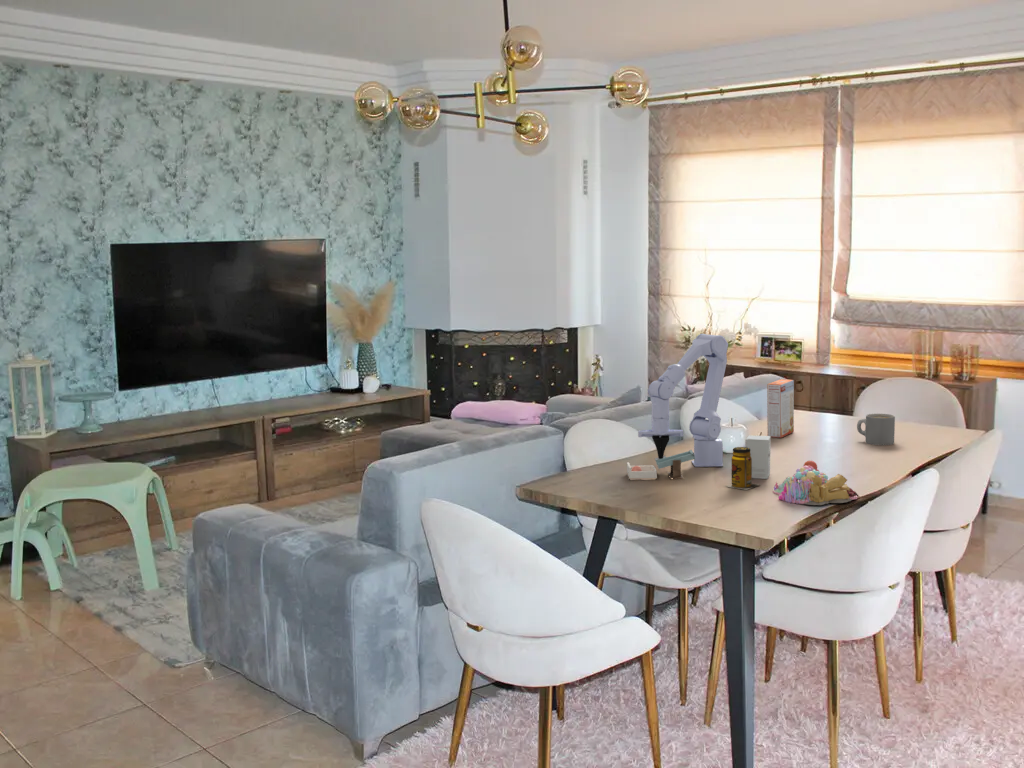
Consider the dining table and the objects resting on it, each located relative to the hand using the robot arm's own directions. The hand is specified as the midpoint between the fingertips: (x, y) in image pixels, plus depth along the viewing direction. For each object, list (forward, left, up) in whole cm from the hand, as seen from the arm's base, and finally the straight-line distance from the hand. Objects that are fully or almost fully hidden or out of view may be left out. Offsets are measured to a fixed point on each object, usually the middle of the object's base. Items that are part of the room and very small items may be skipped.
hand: (660, 458), depth 326 cm
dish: (+7, +7, -5) cm, 11 cm away
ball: (+8, +7, -2) cm, 11 cm away
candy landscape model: (-40, +34, -5) cm, 53 cm away
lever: (-4, +3, 0) cm, 5 cm away
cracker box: (-53, -61, -5) cm, 81 cm away
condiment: (-23, +21, -5) cm, 32 cm away
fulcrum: (-4, +7, -5) cm, 9 cm away
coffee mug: (-84, -44, -5) cm, 95 cm away
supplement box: (-30, +8, -5) cm, 31 cm away
